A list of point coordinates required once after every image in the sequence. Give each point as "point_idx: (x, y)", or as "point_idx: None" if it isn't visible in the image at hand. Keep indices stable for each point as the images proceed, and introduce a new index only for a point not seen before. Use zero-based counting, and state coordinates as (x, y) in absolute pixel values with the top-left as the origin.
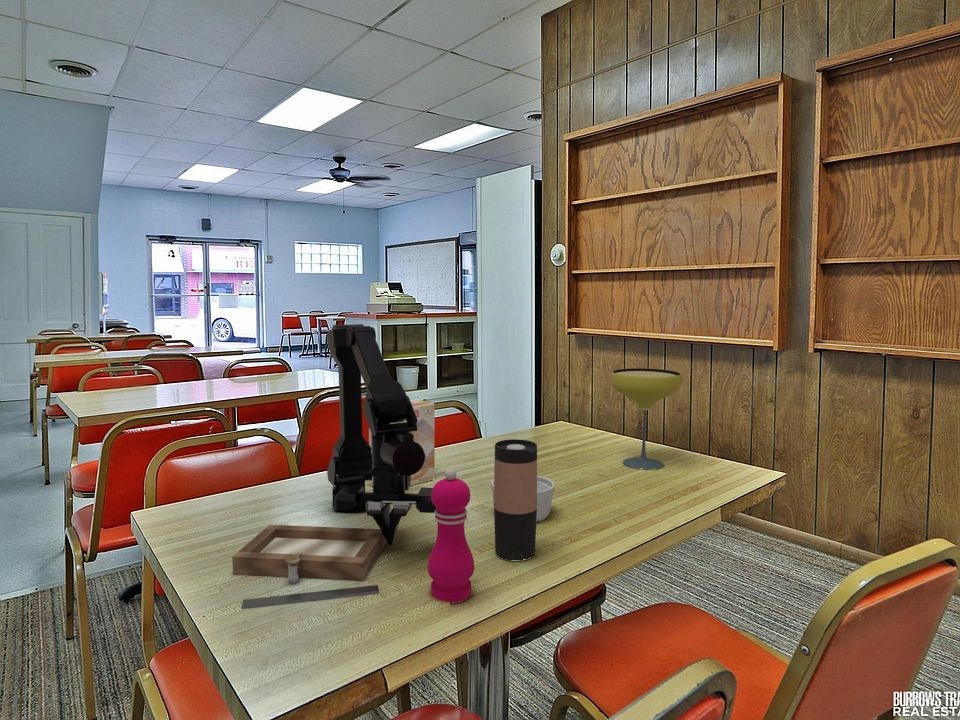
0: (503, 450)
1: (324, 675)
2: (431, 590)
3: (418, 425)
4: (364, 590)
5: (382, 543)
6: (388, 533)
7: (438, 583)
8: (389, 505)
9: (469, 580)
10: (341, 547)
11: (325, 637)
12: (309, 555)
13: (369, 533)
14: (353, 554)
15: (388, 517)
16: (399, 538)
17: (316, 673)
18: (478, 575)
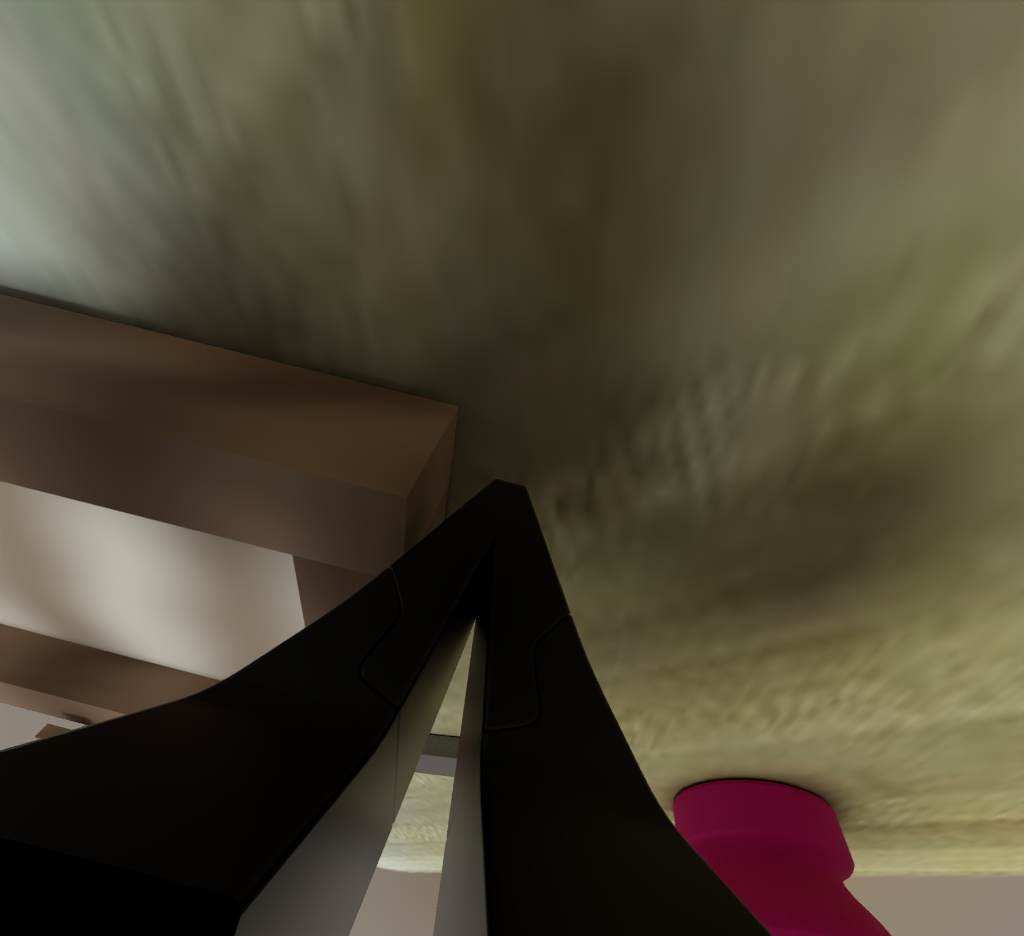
0: None
1: (430, 859)
2: (676, 828)
3: None
4: (440, 770)
5: (435, 508)
6: (466, 637)
7: None
8: (264, 917)
9: (848, 877)
10: (167, 542)
11: (397, 815)
12: (101, 709)
13: (277, 548)
14: (294, 631)
15: (401, 742)
16: (602, 177)
17: (415, 854)
18: (955, 772)
